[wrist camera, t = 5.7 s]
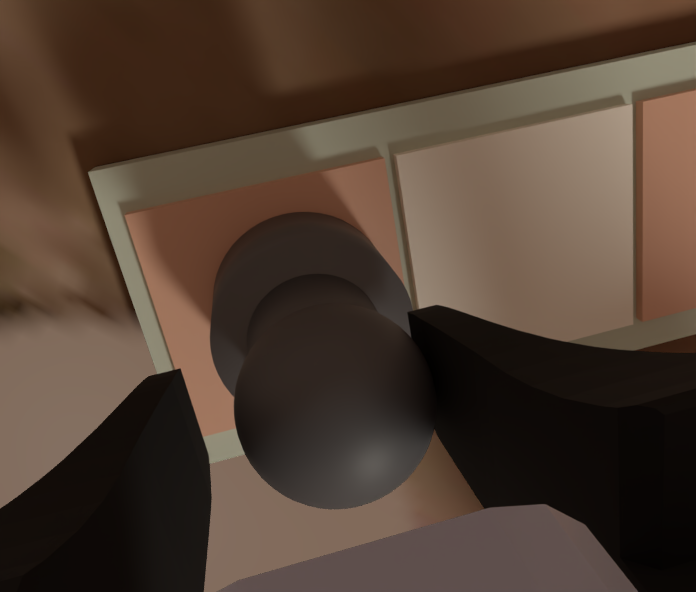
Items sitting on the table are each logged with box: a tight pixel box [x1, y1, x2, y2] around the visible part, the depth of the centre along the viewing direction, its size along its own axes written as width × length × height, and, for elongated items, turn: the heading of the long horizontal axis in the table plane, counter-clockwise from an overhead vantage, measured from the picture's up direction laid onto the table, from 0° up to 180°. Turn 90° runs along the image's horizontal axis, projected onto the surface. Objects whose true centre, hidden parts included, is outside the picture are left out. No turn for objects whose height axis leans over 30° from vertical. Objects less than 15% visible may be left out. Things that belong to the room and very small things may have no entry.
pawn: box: [210, 212, 437, 509], centre depth 13 cm, size 5×5×7 cm
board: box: [88, 42, 696, 464], centre depth 18 cm, size 9×28×1 cm, turn 100°
